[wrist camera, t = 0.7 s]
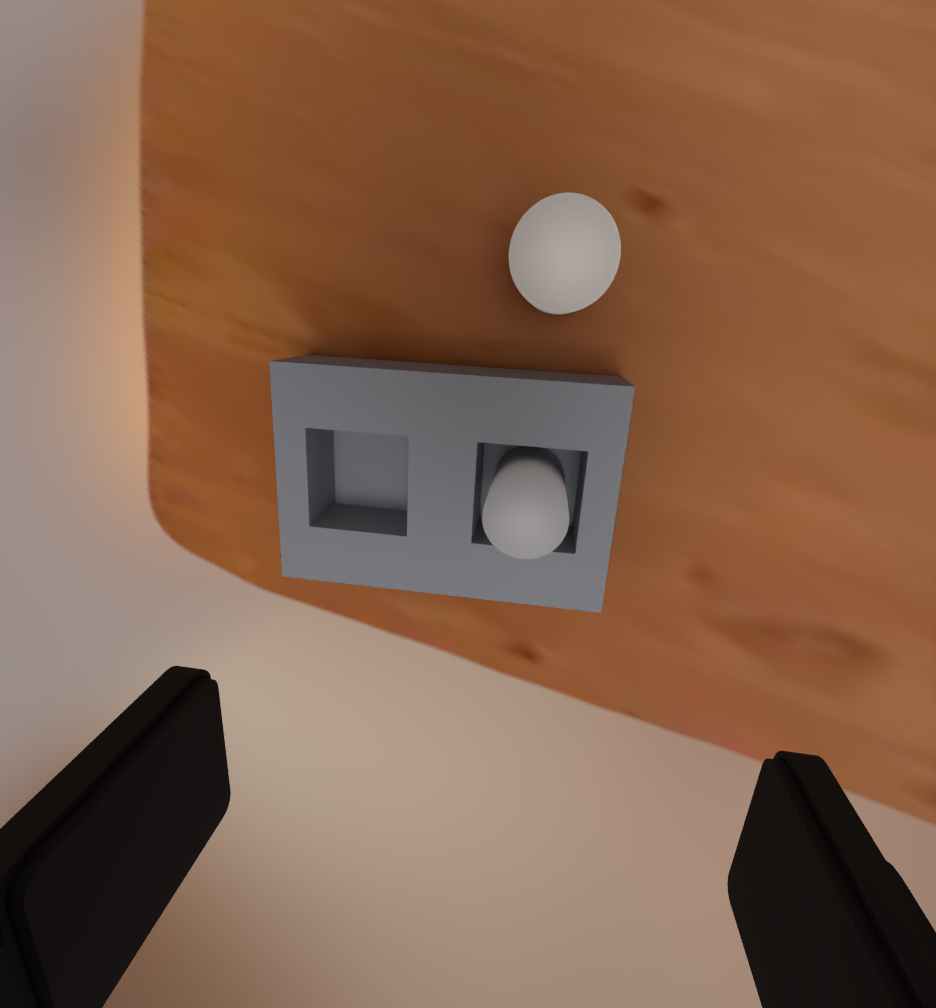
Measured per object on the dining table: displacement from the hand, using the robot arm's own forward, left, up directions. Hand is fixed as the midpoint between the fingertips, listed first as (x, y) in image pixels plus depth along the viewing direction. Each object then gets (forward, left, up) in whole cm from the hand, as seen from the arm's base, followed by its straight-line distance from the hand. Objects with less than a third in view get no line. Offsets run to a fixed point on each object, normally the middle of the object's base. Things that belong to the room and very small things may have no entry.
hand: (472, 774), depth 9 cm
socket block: (+1, -4, -25) cm, 25 cm away
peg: (-10, +1, -25) cm, 26 cm away
